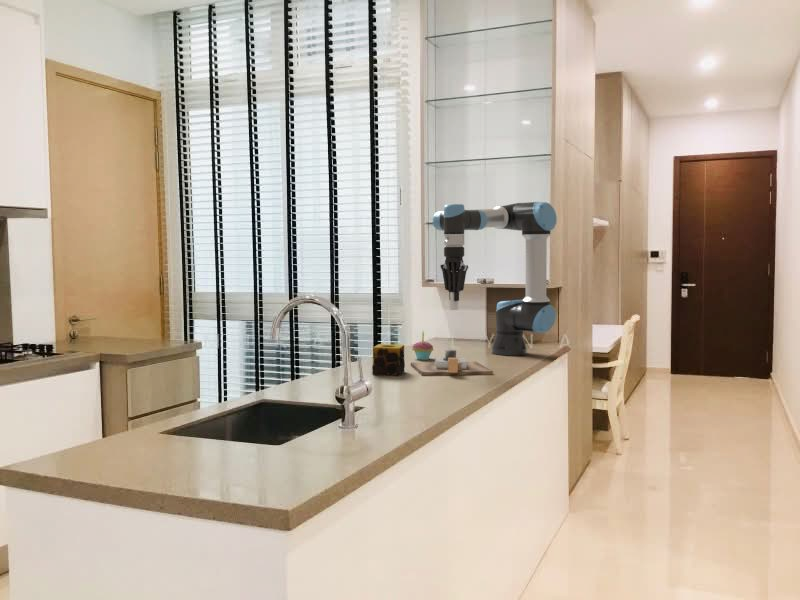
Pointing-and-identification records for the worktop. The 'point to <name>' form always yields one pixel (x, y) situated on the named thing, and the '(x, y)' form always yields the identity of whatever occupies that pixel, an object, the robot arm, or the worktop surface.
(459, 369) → the dowel
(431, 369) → the base board
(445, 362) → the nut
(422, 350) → the cupcake
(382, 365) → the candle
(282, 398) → the worktop surface
